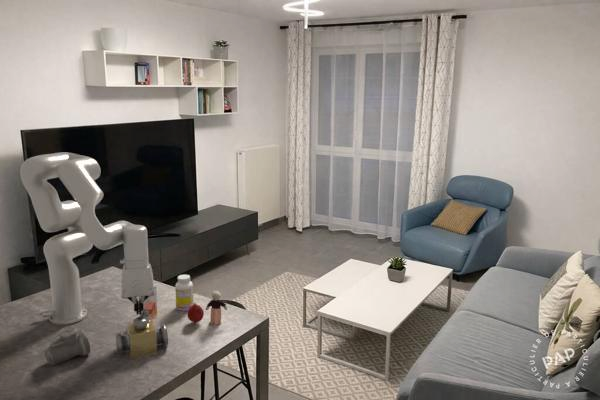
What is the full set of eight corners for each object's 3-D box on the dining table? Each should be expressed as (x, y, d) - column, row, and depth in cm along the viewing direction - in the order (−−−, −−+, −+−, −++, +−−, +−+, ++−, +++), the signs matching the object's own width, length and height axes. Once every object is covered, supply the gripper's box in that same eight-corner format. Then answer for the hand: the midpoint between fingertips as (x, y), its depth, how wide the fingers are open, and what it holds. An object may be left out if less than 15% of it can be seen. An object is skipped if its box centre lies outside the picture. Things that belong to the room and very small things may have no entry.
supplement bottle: (182, 302, 191) (181, 272, 188) (197, 305, 189) (196, 275, 186) (172, 309, 185) (171, 278, 182) (187, 312, 183) (186, 281, 180)
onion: (206, 321, 177) (206, 301, 175) (198, 328, 171) (198, 307, 170) (193, 318, 179) (192, 298, 177) (184, 325, 173) (183, 304, 171)
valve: (118, 360, 150) (116, 337, 148) (116, 348, 157) (114, 325, 156) (168, 350, 157) (167, 328, 155) (164, 338, 164) (163, 317, 162)
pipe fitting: (84, 344, 158) (78, 318, 154) (93, 356, 152) (88, 330, 149) (45, 361, 150) (38, 334, 146) (53, 375, 145) (47, 347, 141)
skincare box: (149, 321, 175) (148, 291, 172) (139, 320, 176) (137, 289, 173) (157, 314, 181) (156, 284, 178) (147, 312, 182) (146, 283, 179)
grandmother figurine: (206, 326, 173) (205, 294, 170) (205, 321, 176) (205, 289, 173) (227, 325, 174) (227, 292, 171) (227, 320, 178) (226, 288, 175)
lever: (146, 329, 153) (146, 323, 152) (131, 329, 153) (131, 323, 152) (158, 307, 168) (158, 301, 168) (145, 307, 168) (144, 301, 168)
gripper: (111, 268, 154) (114, 320, 158) (160, 264, 158) (162, 315, 163) (113, 259, 161) (116, 310, 165) (159, 256, 165) (161, 305, 170)
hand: (139, 312), depth 164 cm, fingers closed
